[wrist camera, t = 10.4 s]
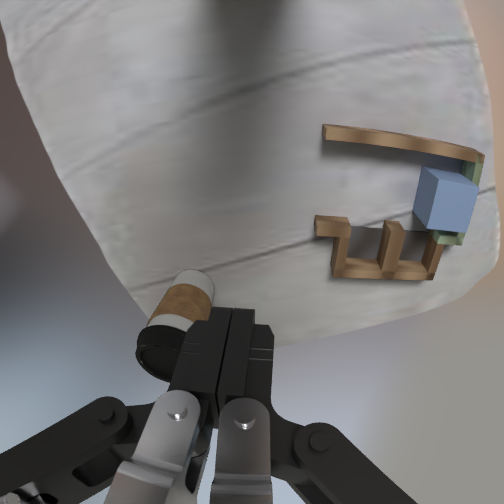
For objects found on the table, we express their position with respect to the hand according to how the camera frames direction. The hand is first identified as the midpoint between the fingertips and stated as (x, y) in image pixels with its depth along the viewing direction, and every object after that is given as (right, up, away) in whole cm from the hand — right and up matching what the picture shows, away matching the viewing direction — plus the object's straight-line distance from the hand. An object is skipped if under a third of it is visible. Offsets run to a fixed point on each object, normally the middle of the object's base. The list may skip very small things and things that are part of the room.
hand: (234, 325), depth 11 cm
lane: (+18, +8, +25) cm, 32 cm away
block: (+24, +10, +23) cm, 35 cm away
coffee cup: (-8, -2, +34) cm, 35 cm away
